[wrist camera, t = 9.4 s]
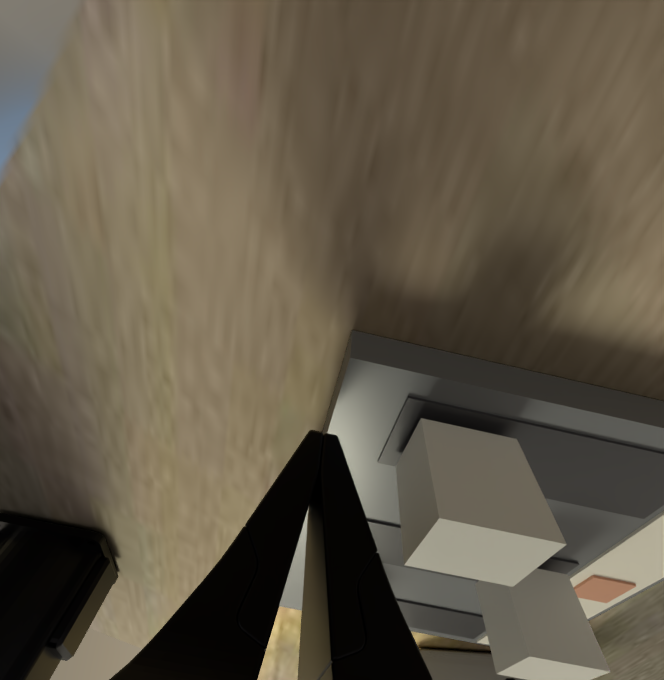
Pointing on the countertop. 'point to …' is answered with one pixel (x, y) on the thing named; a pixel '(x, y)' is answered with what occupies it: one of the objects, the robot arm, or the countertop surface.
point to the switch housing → (542, 456)
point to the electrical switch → (461, 665)
